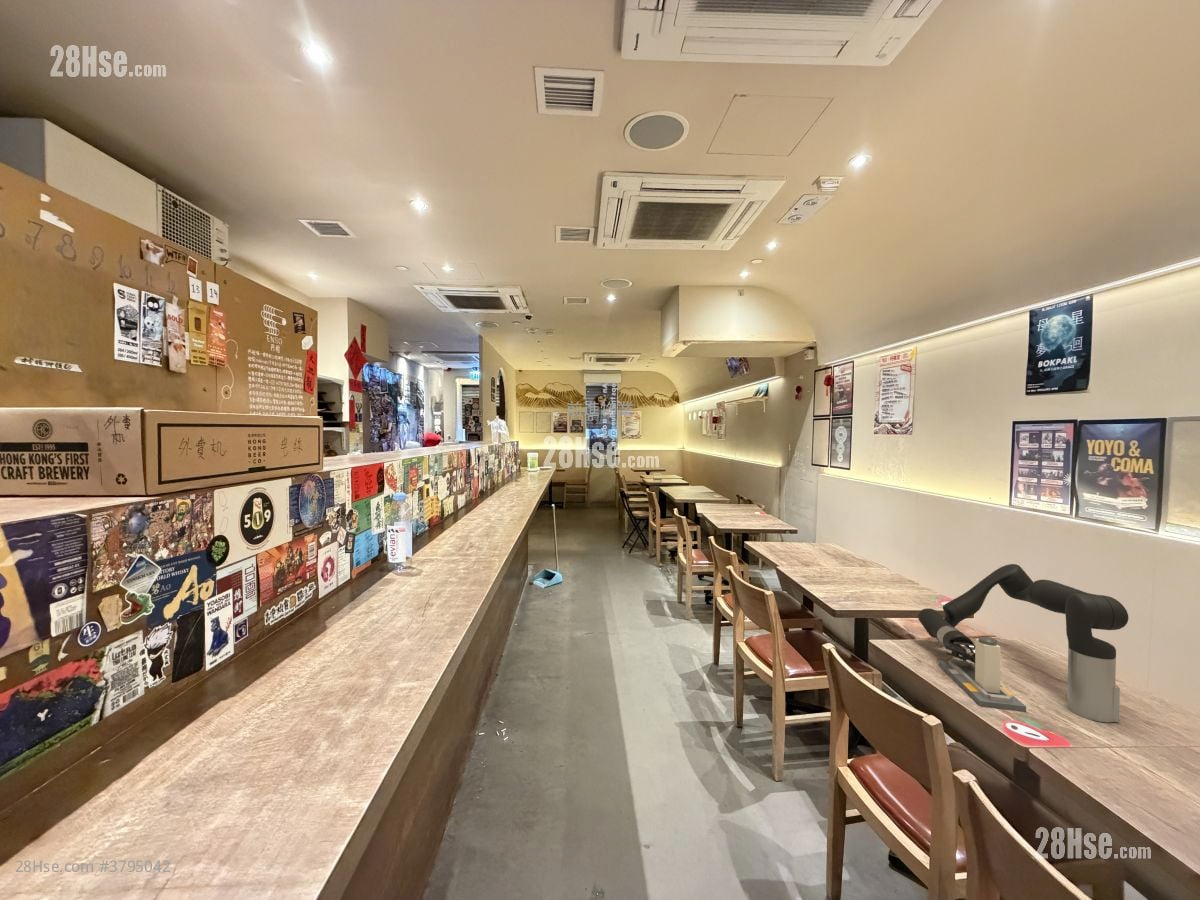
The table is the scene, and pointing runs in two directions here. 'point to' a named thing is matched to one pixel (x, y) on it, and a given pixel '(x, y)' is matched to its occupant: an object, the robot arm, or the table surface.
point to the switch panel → (966, 680)
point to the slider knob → (987, 664)
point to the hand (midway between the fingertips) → (982, 664)
